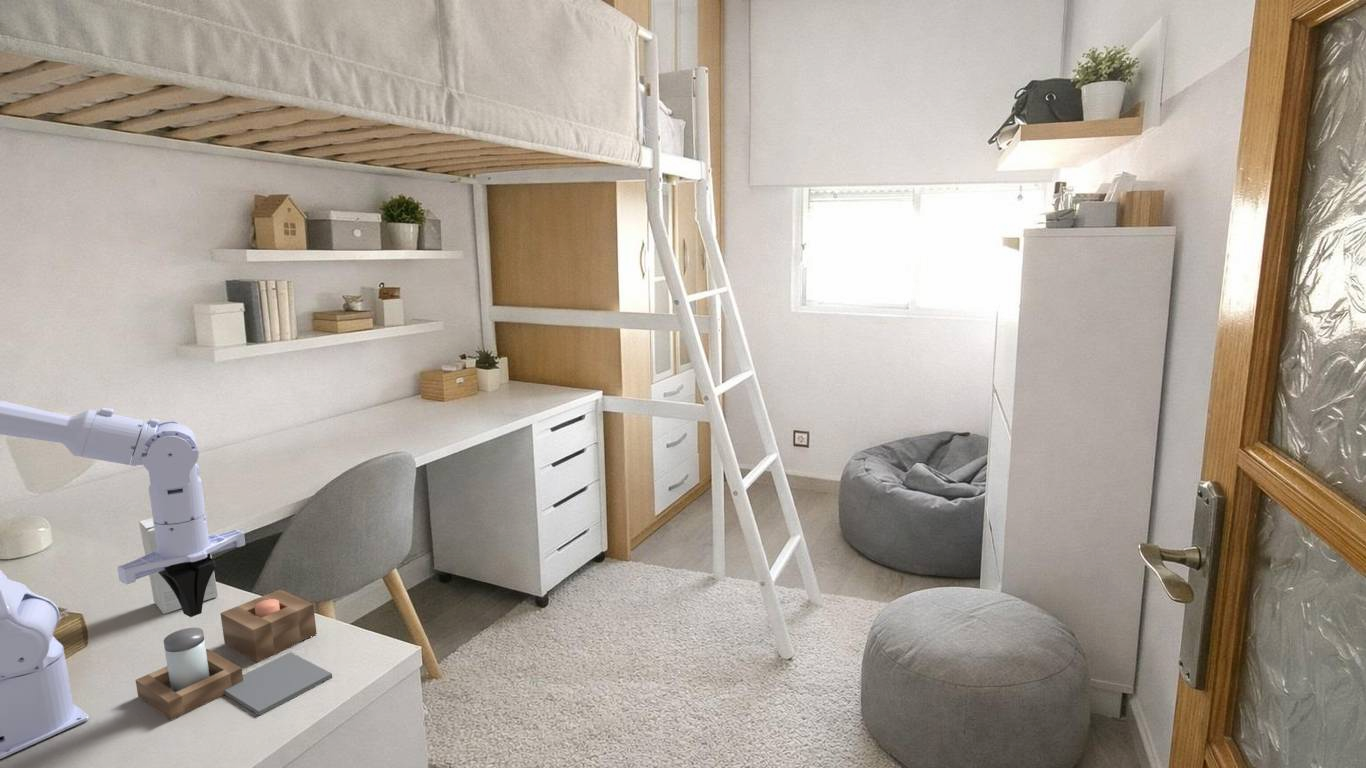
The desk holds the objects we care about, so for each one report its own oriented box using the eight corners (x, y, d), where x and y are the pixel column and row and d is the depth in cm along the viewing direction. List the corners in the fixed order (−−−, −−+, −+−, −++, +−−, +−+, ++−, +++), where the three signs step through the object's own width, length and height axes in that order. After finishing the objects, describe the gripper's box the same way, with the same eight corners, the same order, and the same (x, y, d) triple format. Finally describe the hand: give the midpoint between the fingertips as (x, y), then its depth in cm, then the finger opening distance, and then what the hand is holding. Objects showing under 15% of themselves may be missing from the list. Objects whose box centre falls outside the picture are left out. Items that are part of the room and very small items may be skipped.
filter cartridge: (181, 704, 99) (173, 648, 98) (165, 694, 102) (157, 638, 100) (217, 688, 103) (209, 633, 101) (201, 677, 105) (193, 624, 104)
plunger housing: (257, 662, 109) (253, 629, 108) (224, 644, 114) (220, 613, 113) (316, 634, 116) (313, 604, 115) (283, 618, 121) (280, 589, 120)
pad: (259, 715, 97) (258, 711, 97) (218, 690, 102) (218, 686, 102) (332, 677, 105) (331, 673, 105) (291, 655, 111) (290, 652, 110)
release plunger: (265, 642, 113) (262, 611, 112) (254, 636, 115) (250, 605, 114) (286, 633, 115) (283, 602, 114) (275, 627, 117) (271, 597, 116)
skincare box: (208, 587, 132) (196, 505, 129) (219, 598, 128) (208, 514, 125) (150, 604, 126) (137, 519, 123) (160, 616, 122) (147, 528, 119)
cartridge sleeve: (171, 720, 96) (168, 702, 96) (138, 696, 101) (135, 679, 101) (243, 684, 104) (241, 668, 103) (210, 664, 108) (207, 648, 108)
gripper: (130, 541, 91) (146, 646, 94) (252, 505, 103) (263, 599, 106) (104, 529, 95) (119, 630, 98) (224, 496, 107) (235, 586, 110)
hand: (192, 613), depth 102 cm, fingers closed
